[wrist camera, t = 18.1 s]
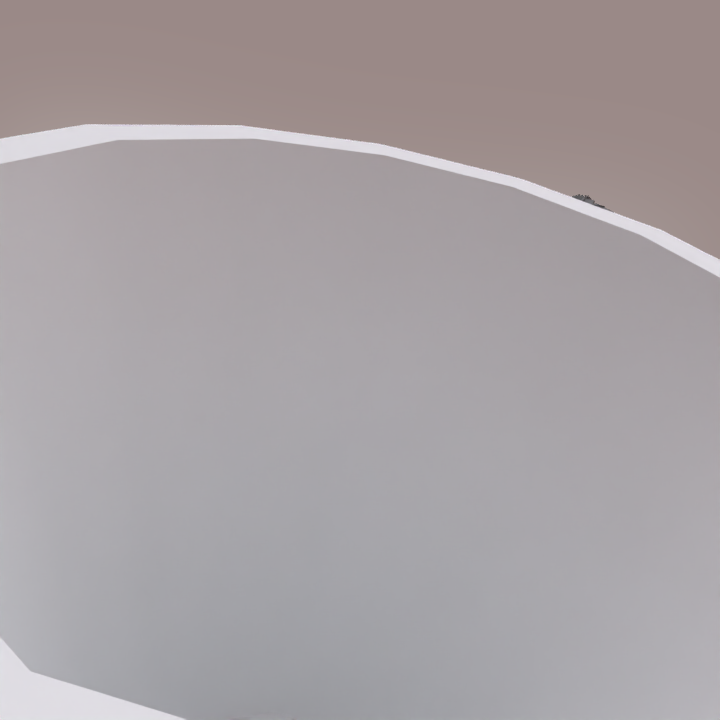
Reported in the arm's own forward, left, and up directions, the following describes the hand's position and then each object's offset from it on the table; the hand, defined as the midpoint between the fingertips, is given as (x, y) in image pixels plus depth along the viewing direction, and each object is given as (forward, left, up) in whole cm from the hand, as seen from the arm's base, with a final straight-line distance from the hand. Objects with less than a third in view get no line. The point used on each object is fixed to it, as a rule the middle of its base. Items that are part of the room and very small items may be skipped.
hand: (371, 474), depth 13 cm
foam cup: (+3, -3, -7) cm, 8 cm away
